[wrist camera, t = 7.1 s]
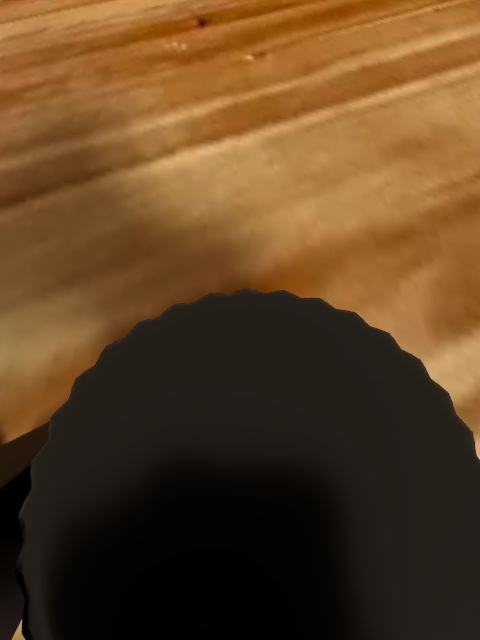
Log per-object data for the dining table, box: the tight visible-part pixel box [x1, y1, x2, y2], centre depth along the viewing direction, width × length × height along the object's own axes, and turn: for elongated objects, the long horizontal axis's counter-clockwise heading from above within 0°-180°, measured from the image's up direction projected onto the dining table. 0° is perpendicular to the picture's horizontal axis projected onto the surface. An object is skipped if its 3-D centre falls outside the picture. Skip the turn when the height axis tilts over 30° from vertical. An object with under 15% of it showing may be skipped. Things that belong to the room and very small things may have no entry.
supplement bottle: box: [15, 289, 480, 640], centre depth 9 cm, size 7×7×12 cm
